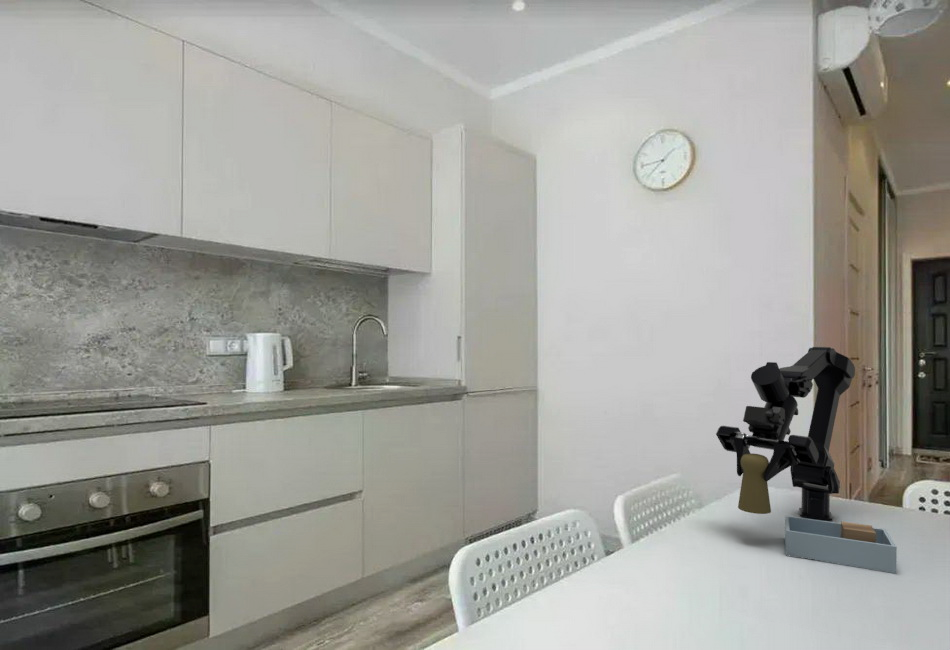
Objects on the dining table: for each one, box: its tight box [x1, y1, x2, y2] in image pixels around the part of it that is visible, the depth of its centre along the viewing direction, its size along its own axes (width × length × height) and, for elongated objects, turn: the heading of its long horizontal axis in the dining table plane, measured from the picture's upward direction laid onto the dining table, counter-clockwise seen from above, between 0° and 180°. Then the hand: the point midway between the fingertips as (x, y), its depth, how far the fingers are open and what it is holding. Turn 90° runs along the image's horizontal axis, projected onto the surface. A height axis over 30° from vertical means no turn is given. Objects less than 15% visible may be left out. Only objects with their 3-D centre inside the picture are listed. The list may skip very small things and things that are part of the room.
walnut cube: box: [840, 521, 876, 543], centre depth 112 cm, size 5×5×5 cm
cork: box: [737, 453, 772, 515], centre depth 119 cm, size 6×6×11 cm
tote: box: [784, 515, 897, 574], centre depth 113 cm, size 11×17×5 cm, turn 63°
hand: (751, 477), depth 118 cm, fingers closed on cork, 5 cm apart
